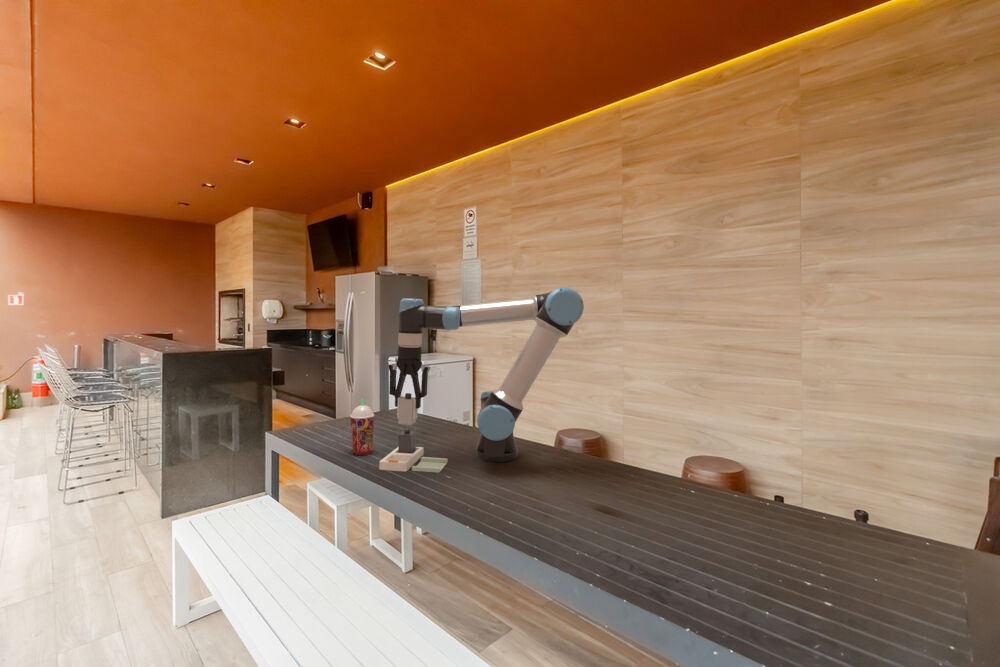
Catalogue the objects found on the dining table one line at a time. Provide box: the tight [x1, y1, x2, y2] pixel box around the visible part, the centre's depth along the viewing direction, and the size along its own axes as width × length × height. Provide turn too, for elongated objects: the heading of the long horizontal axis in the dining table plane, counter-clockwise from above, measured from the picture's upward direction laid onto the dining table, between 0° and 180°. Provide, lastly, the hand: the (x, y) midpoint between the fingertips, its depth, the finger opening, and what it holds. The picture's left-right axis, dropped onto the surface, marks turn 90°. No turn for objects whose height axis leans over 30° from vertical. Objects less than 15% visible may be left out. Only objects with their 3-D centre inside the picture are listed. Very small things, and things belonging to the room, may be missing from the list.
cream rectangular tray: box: [378, 427, 425, 472], centre depth 151 cm, size 9×17×10 cm, turn 171°
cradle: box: [411, 456, 449, 473], centre depth 147 cm, size 9×10×2 cm
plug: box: [397, 392, 417, 426], centre depth 146 cm, size 4×4×10 cm
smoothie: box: [349, 397, 375, 456], centre depth 161 cm, size 8×8×20 cm
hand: (407, 417), depth 146 cm, fingers closed on plug, 4 cm apart
